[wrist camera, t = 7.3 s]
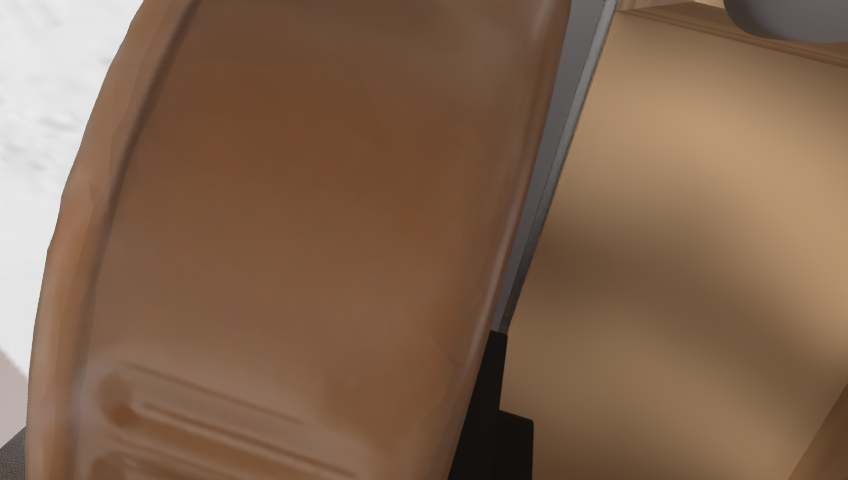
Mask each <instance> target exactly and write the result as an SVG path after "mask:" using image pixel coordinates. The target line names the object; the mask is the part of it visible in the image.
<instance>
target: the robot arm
mask: <svg viewBox="0 0 848 480" xmlns="http://www.w3.org/2000/svg"><path fill="white" fill-rule="evenodd" d="M507 341H508V335H506V334H503V333H500V332H496V331H493V330H490V333H489V336H488V340H487V344H486V347H485V351H484V355H483V358H482V362H481V366H480V369H479V372H478V376H477V379H476V383H475V386H474V390H473V393H472V396H471V400H470V403H469V407H468V410H467V414H466V417H465V421H464V424H463V427H462V431H461V434H460V438H459V441H458V445H457V448H456V451H455V455H454V458H453V462H452V465H451V469H450V472H449V475H448V479H447V480H532V470H533V440H534V422H533V420H531V419H528V418H525V417H522V416H518V415H515V414H512V413H509V412H506V411H503V410H499V407H500V399H501V391H502V382H503V374H504V366H505V358H506V350H507ZM25 434H26V426H25V428H23V429H22V430H21V431H20V432H19V433H17V434H16V435H15V436H14V437H13V438H12V439H11V440H10V441H8V442H7V443H6V444H5V445H4V446H3V447H2V448H1V449H0V480H25Z"/></svg>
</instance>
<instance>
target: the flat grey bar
mask: <svg viewBox="0 0 848 480" xmlns="http://www.w3.org/2000/svg"><path fill="white" fill-rule="evenodd" d="M604 3H605V0H572V3H571V11H570V16H569V21H568V25H567V30H566V35H565V39H564V44H563V48H562V53H561V58H560V62H559V67H558V71H557V76H556V81H555V85H554V90H553V95H552V99H551V104H550V108H549V112H548V116H547V120H546V124H545V128H544V132H543V136H542V140H541V143H540V147H539V151H538V155H537V159H536V163H535V167H534V171H533V174H532V178H531V182H530V186H529V190H528V194H527V198H526V201H525V205H524V208H523V212H522V216H521V219H520V223H519V227H518V230H517V234H516V238H515V241H514V245H513V249H512V252H511V256H510V260H509V263H508V267H507V271H506V274H505V278H504V282H503V285H502V289H501V293H500V296H499V300H498V304H497V307H496V311H495V315H494V318H493V322H492V325H491V329H490V330H493V331H496V332H498V330H499V326H500V323H501V320H502V317H503V314H504V311H505V308H506V305H507V302H508V299H509V296H510V293H511V290H512V286H513V283H514V280H515V277H516V274H517V271H518V268H519V265H520V262H521V259H522V256H523V253H524V249H525V246H526V243H527V240H528V237H529V234H530V231H531V228H532V225H533V222H534V219H535V216H536V213H537V209H538V206H539V203H540V200H541V197H542V194H543V191H544V188H545V185H546V182H547V179H548V176H549V173H550V169H551V166H552V163H553V160H554V157H555V154H556V151H557V148H558V145H559V142H560V139H561V136H562V132H563V129H564V126H565V123H566V120H567V117H568V114H569V111H570V108H571V105H572V102H573V99H574V96H575V92H576V89H577V86H578V83H579V80H580V77H581V74H582V71H583V68H584V65H585V62H586V59H587V55H588V52H589V49H590V46H591V43H592V40H593V37H594V34H595V31H596V28H597V25H598V22H599V19H600V15H601V12H602V9H603V6H604Z"/></svg>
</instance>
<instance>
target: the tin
mask: <svg viewBox="0 0 848 480" xmlns="http://www.w3.org/2000/svg"><path fill="white" fill-rule="evenodd" d="M571 3H572V0H144V1H143V3H142V4H141V6H140V8H139V9H138V11H137V13H136V15H135V16H134V18H133V20H132V21H131V23H130V26H129V29H128V31H127V34H126V36H125V38H124V40H123V42H122V44H121V46H120V48H119V50H118V52H117V54H116V55H115V57H114V59H113V61H112V63H111V65H110V67H109V69H108V72H107V74H106V77H105V79H104V82H103V84H102V87H101V90H100V92H99V95H98V97H97V100H96V102H95V105H94V108H93V110H92V113H91V115H90V118H89V120H88V123H87V125H86V128H85V132H84V135H83V138H82V142H81V145H80V148H79V151H78V153H77V156H76V158H75V161H74V163H73V166H72V168H71V171H70V173H69V176H68V179H67V182H66V184H65V187H64V190H63V193H62V196H61V204H60V211H59V215H58V219H57V223H56V227H55V231H54V234H53V237H52V240H51V242H50V245H49V247H48V250H47V257H46V263H45V269H44V274H43V280H42V286H41V291H40V297H39V303H38V308H37V314H36V319H35V325H34V333H33V342H32V351H31V359H30V368H29V382H28V407H27V421H26V434H25V480H447V479H448V475H449V472H450V469H451V465H452V462H453V458H454V455H455V451H456V448H457V445H458V441H459V438H460V434H461V431H462V427H463V424H464V421H465V417H466V414H467V410H468V407H469V403H470V400H471V396H472V393H473V390H474V386H475V383H476V379H477V376H478V372H479V369H480V366H481V362H482V358H483V355H484V351H485V347H486V344H487V340H488V336H489V333H490V329H491V325H492V322H493V318H494V315H495V311H496V307H497V304H498V300H499V296H500V293H501V289H502V285H503V282H504V278H505V274H506V271H507V267H508V263H509V260H510V256H511V252H512V249H513V245H514V241H515V238H516V234H517V230H518V227H519V223H520V219H521V216H522V212H523V208H524V205H525V201H526V198H527V194H528V190H529V186H530V182H531V178H532V174H533V171H534V167H535V163H536V159H537V155H538V151H539V147H540V143H541V140H542V136H543V132H544V128H545V124H546V120H547V116H548V112H549V108H550V104H551V99H552V95H553V90H554V85H555V81H556V76H557V71H558V67H559V62H560V58H561V53H562V48H563V44H564V39H565V35H566V30H567V25H568V21H569V16H570V11H571Z"/></svg>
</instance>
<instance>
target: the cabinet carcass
mask: <svg viewBox="0 0 848 480" xmlns="http://www.w3.org/2000/svg"><path fill="white" fill-rule="evenodd" d="M506 335H508V341H507V350H506V358H505V366H504V374H503V382H502V391H501V399H500V407H499V410H503V411H506V412H509V413H512V414H515V415H518V416H522V417H525V418H528V419H531V420H533V422H534V440H533V470H532V480H848V0H617V3H616V6H615V9H614V12H613V15H612V18H611V21H610V24H609V27H608V30H607V33H606V36H605V39H604V42H603V45H602V48H601V51H600V54H599V57H598V60H597V63H596V66H595V69H594V72H593V75H592V78H591V81H590V84H589V87H588V90H587V93H586V96H585V99H584V102H583V105H582V108H581V111H580V114H579V117H578V120H577V123H576V126H575V129H574V132H573V135H572V138H571V141H570V144H569V147H568V150H567V153H566V156H565V159H564V162H563V165H562V168H561V171H560V174H559V177H558V180H557V183H556V186H555V189H554V192H553V195H552V198H551V201H550V204H549V207H548V210H547V213H546V216H545V219H544V223H543V226H542V229H541V232H540V235H539V238H538V241H537V244H536V247H535V250H534V253H533V256H532V259H531V262H530V265H529V268H528V271H527V274H526V277H525V280H524V283H523V286H522V289H521V292H520V295H519V298H518V301H517V304H516V307H515V310H514V313H513V316H512V319H511V322H510V325H509V328H508V331H507V334H506Z"/></svg>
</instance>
